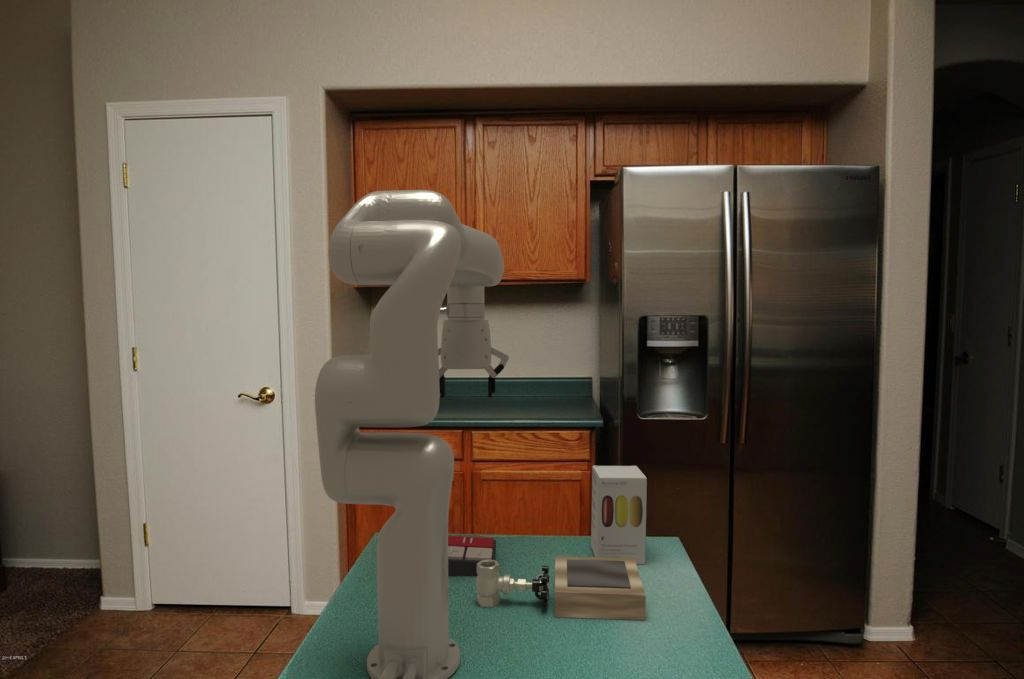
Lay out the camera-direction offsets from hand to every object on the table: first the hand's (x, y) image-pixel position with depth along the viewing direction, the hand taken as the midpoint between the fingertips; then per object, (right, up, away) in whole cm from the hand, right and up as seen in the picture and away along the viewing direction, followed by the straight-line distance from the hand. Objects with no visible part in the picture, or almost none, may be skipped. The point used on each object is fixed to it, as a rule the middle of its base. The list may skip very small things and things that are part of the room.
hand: (466, 396), depth 125 cm
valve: (+9, -32, -25) cm, 41 cm away
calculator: (-2, -32, -9) cm, 33 cm away
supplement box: (+30, -31, -5) cm, 43 cm away
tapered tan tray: (+23, -32, -23) cm, 45 cm away
